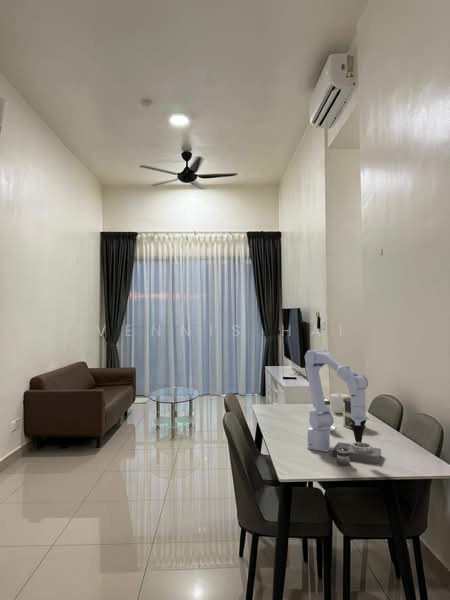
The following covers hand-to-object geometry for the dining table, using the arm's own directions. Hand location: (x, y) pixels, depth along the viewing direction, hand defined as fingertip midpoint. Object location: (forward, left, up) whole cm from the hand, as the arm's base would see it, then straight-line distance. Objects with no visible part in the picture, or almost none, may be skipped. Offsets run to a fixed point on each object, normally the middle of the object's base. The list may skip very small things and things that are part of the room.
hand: (359, 439), depth 170 cm
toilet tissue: (-28, +87, -10) cm, 92 cm away
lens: (-6, -3, -10) cm, 12 cm away
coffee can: (-14, +57, -10) cm, 59 cm away
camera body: (-3, +9, -10) cm, 13 cm away
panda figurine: (-27, +47, -10) cm, 55 cm away
